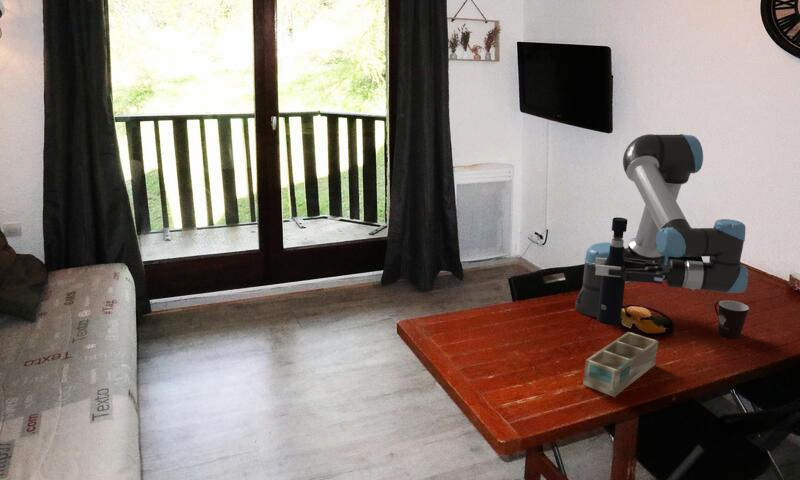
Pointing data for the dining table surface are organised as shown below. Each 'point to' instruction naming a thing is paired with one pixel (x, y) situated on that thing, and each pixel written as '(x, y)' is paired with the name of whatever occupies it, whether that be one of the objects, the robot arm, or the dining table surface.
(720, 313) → the coffee mug
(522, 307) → the dining table surface
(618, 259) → the black metal bottle
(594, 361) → the wooden compartment box
